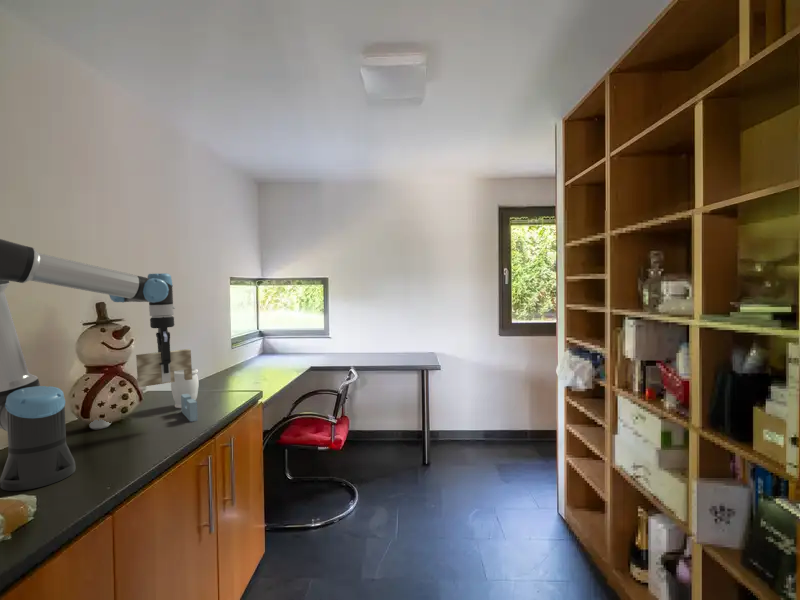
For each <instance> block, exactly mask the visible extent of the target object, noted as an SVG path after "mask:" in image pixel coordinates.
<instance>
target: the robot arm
mask: <svg viewBox="0 0 800 600" xmlns="http://www.w3.org/2000/svg"><path fill="white" fill-rule="evenodd" d="M29 281H30V282H37V283H42V284H47V285H53V286H58V287H64V288H70V289H74V290H75V289H76V290H80V291H81V290H82V291H85V292H93V293H97V294H103V295H108V296H109V298H110V300H111V301H112V302H113V303H131V302H133V303H142V302H143V303H145V302H146V303H148V304H149V305H148V311H149V317H150V318H149V321H150V322H149V323H150V324H149V325H150V328H151V329H157V332H155V336H156V343H157V352H161V361H162V362H161V363H159V365H161V373H162V383H164V382H171V376H170V362H171V360H170V351H171V332H169V331H168V328H173V327H175V317H174V316H173V315H174V310H175V309H176V306H174V295H173V294H174V293H173V292H174V291H173V288H174V287H173V285H174V284H173V280H172V275H171V274H170V273H167V272H166V273H148V274H147V277H145V276H140V275H137V274H132V273H127V272H123V271H119V270H115V269H110V268H106V267H101V266H97V265H92V264H88V263H84V262H81V261H76V260H75V261H74V260H71V259H66V258H63V257H57V256H53V255H48V254H45V253H41V252H38V251H37V250H36V249H35V248H34V247H31V246H26V245H23V244H20V243H16V242H13V241H9V240H5V239H2V238H0V429H2V430H4V431H6V432H7V450H8V456H7V458H6V460H5V464H4V467H3V470H2V473H1V476H0V489H1V490H3V491H7V492H8V491H9V492H19V491H27V490H28V491H29V490H32V489H38V488H42V487H46V486H49V485H53V484H56V483H58V482H60V481H63V480H65V479H66V478H68V477H70V476H71V475H73V474H75V471H76V460H75V458H74V456H73V454H72V453H71V450H70V448H69V445H68V444H67V432H66V430H67V428H66V398H65V393H64V391H63V390H62V389H61V388H59V387H55V386H52V385H51V386H50V385H49V386H46V385H40V381H39V377H38V376H37V375H35V374H32V373H30V371H29V368H28V365H27V362H26V358H25V355H24V352H23V349H22V346H21V342H20V338H19V335H18V332H17V330H16V329H17V328H16V326H15V322H14V320H13V315H12V312H11V310H10V307H9V301H8V300H7V297H6V293H5V290H6V289H7V288H8V286H9V285H10V282H14V283H15V282H16V283H20V284H25V283H27V282H29ZM164 384H165V383H164Z"/></svg>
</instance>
